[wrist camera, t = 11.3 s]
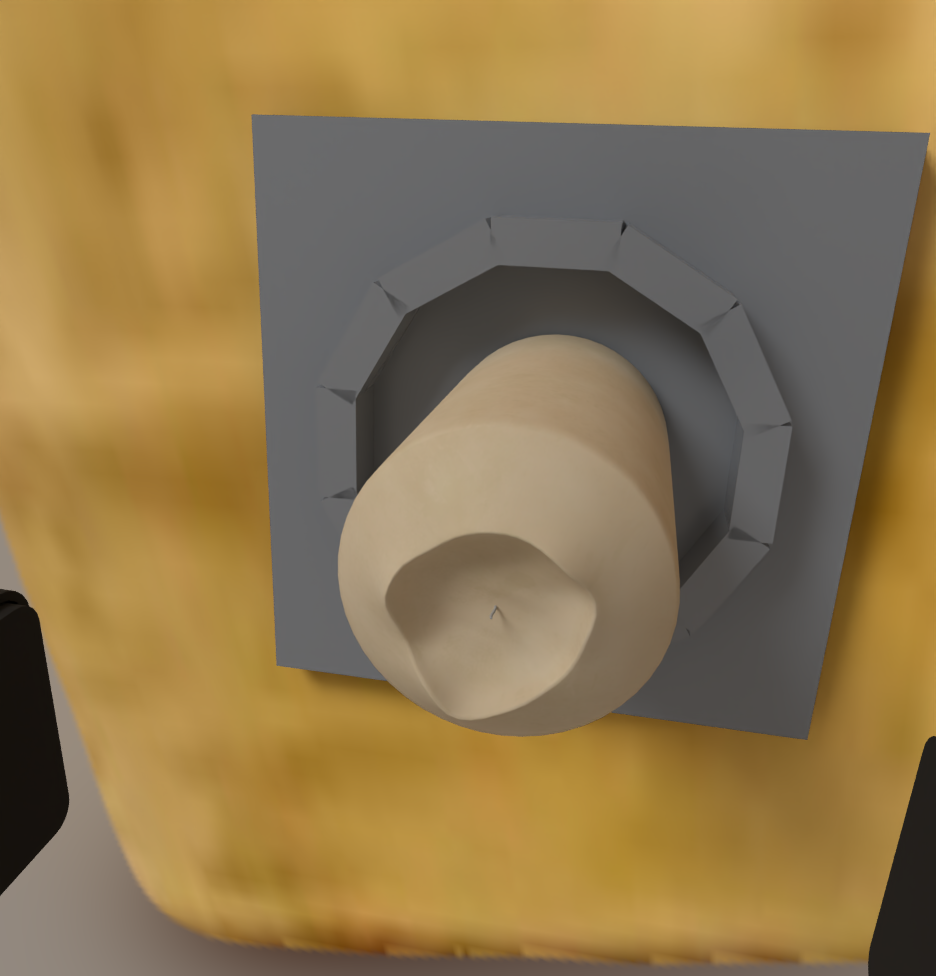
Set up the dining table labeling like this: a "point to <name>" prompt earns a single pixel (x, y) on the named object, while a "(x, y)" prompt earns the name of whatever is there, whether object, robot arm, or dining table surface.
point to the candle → (521, 544)
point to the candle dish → (600, 318)
